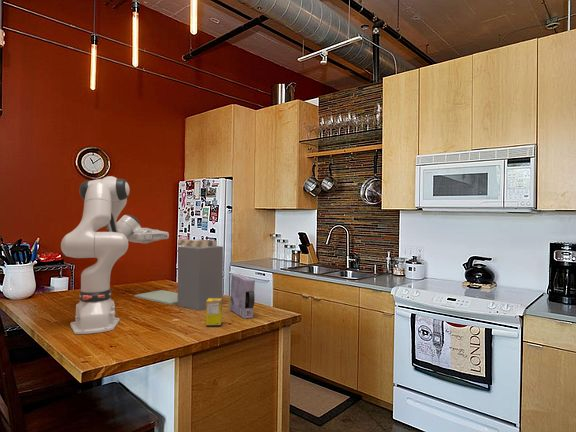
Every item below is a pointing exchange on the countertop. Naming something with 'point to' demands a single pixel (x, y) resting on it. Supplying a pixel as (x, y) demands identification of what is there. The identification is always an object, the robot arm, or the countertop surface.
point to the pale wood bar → (211, 243)
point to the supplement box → (214, 312)
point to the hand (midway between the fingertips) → (159, 236)
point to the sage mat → (160, 297)
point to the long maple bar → (193, 243)
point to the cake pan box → (242, 296)
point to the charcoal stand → (199, 275)
